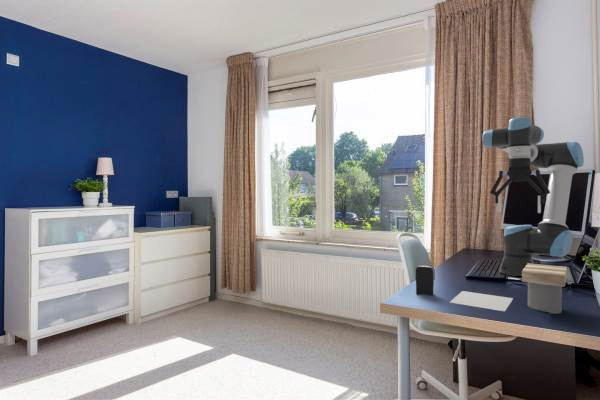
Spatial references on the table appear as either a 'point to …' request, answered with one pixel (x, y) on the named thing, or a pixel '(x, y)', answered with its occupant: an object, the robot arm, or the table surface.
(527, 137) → the robot arm
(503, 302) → the grey mat
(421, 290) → the battery
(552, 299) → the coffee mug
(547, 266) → the board
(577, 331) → the table surface
